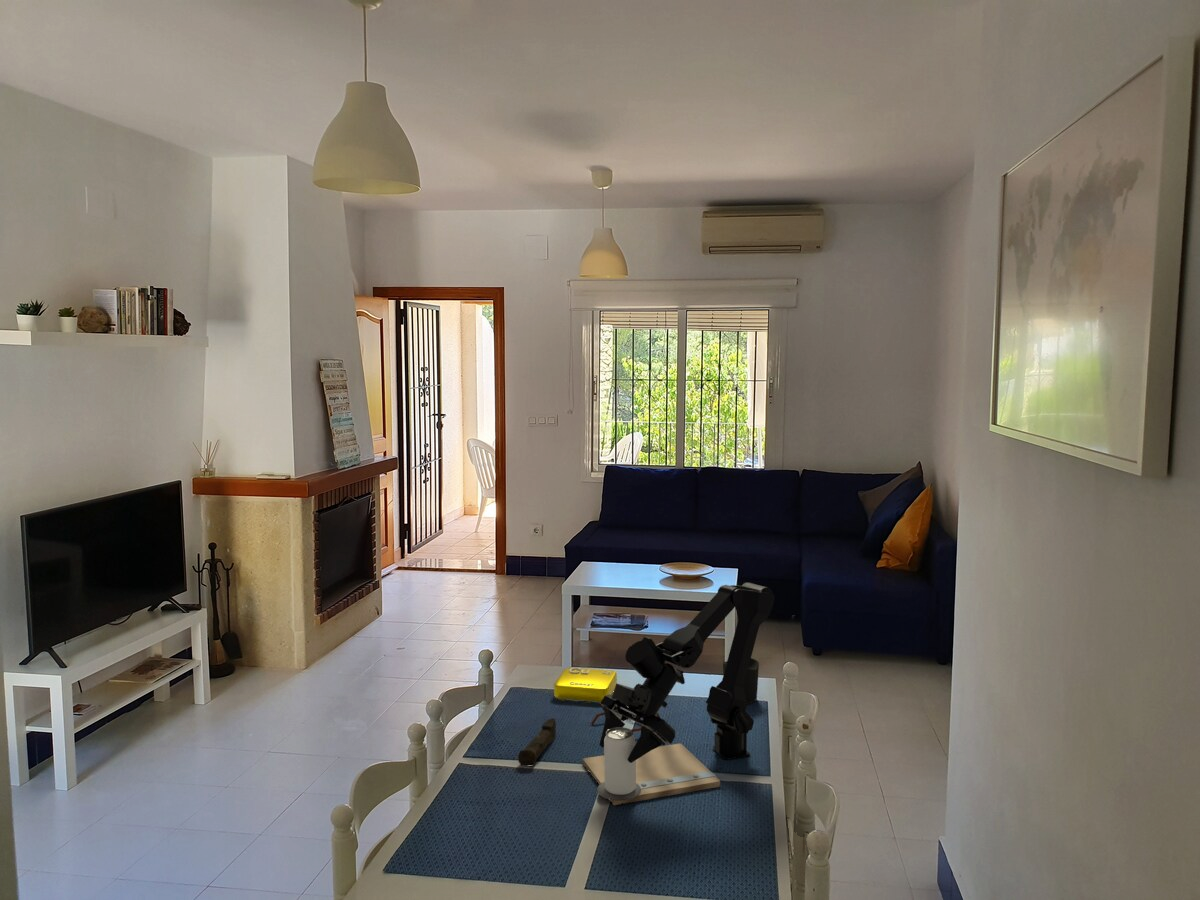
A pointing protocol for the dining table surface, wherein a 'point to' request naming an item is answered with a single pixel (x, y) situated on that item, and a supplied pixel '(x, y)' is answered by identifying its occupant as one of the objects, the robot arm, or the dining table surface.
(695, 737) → the dining table surface
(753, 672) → the pen holder
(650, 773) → the subfloor panel
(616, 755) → the can
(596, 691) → the element tile
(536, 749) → the hand tool
